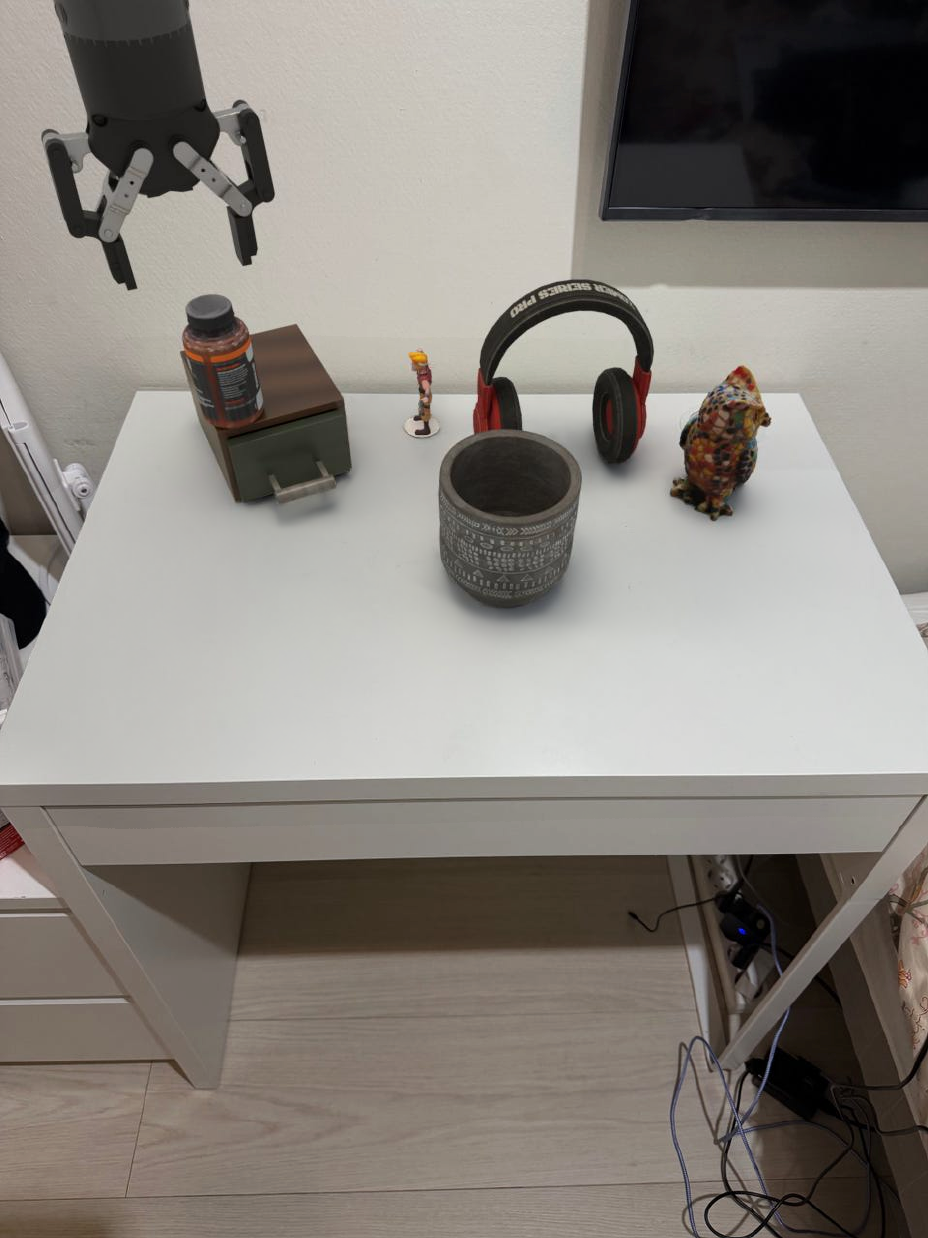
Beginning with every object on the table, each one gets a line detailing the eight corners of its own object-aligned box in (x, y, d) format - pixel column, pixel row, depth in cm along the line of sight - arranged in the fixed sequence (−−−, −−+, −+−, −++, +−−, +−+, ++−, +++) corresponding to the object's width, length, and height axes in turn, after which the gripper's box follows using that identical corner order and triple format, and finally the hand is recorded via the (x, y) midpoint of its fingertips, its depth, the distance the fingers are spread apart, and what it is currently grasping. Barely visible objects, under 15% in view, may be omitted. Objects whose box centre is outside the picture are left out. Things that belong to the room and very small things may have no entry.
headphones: (482, 496, 88) (490, 323, 73) (467, 436, 94) (471, 265, 79) (645, 480, 90) (685, 309, 75) (619, 422, 96) (652, 252, 81)
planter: (550, 638, 76) (565, 537, 66) (422, 606, 78) (418, 505, 69) (578, 545, 84) (595, 443, 74) (461, 519, 86) (462, 416, 76)
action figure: (442, 466, 91) (441, 393, 84) (415, 467, 91) (412, 394, 84) (434, 398, 99) (432, 326, 91) (409, 399, 98) (406, 327, 91)
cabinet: (352, 468, 91) (344, 398, 84) (235, 502, 87) (217, 432, 80) (307, 392, 99) (296, 323, 92) (199, 421, 95) (179, 351, 89)
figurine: (769, 511, 87) (818, 389, 76) (693, 532, 85) (731, 409, 74) (725, 460, 92) (765, 338, 81) (652, 478, 90) (682, 355, 79)
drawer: (364, 493, 87) (358, 438, 81) (254, 527, 84) (240, 471, 78) (308, 399, 97) (300, 344, 91) (208, 425, 93) (193, 370, 88)
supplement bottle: (278, 407, 83) (257, 300, 74) (236, 439, 79) (210, 331, 71) (232, 386, 85) (207, 280, 76) (189, 417, 81) (158, 310, 73)
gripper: (224, -16, 55) (265, 232, 67) (-10, 9, 51) (80, 269, 63) (258, 17, 50) (296, 276, 63) (6, 48, 46) (99, 319, 59)
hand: (188, 272), depth 63 cm, fingers open, 8 cm apart
